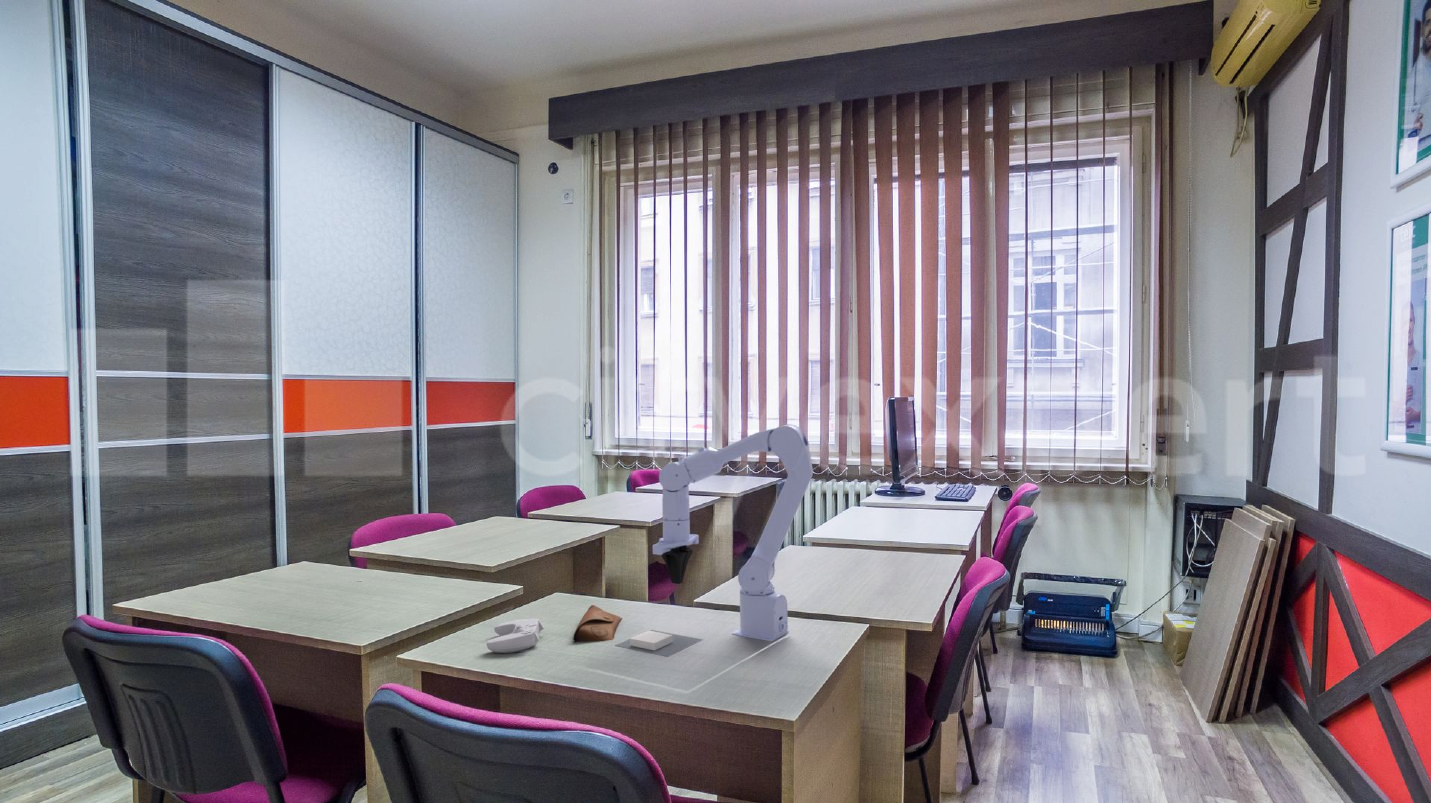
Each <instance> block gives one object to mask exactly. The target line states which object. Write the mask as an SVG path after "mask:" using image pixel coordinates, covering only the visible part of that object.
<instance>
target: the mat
mask: <svg viewBox="0 0 1431 803" xmlns="http://www.w3.org/2000/svg"><path fill="white" fill-rule="evenodd" d="M649 631H654V632H659V633H665V634H670V635H673V642H672V643H670V644H668V645H666V646H664V647H662V648H659V649H657V650H655V651H653V650H648V649H643V648H638V647H633V646H630V638H629V639H627V640H624V641H622V642H619V643H617V644H615V645H614V646H615V647H620V648H623V649H629V650H633V651H638V652H643V653H648V654H653V655H658V656H662V657H667V658H668V657H671V656H672V655H674V654H676V653H679V652H681V651H683V650H685V649H687V648H689V647H691V646H693V645H695V644H697V643H699V642H701V641H704V640H703V638H697V637H692V636H687V635H681V634H676V633H675V634H674V633H670V632H664V631H659V630H654V629H651V630H649Z"/></svg>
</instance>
